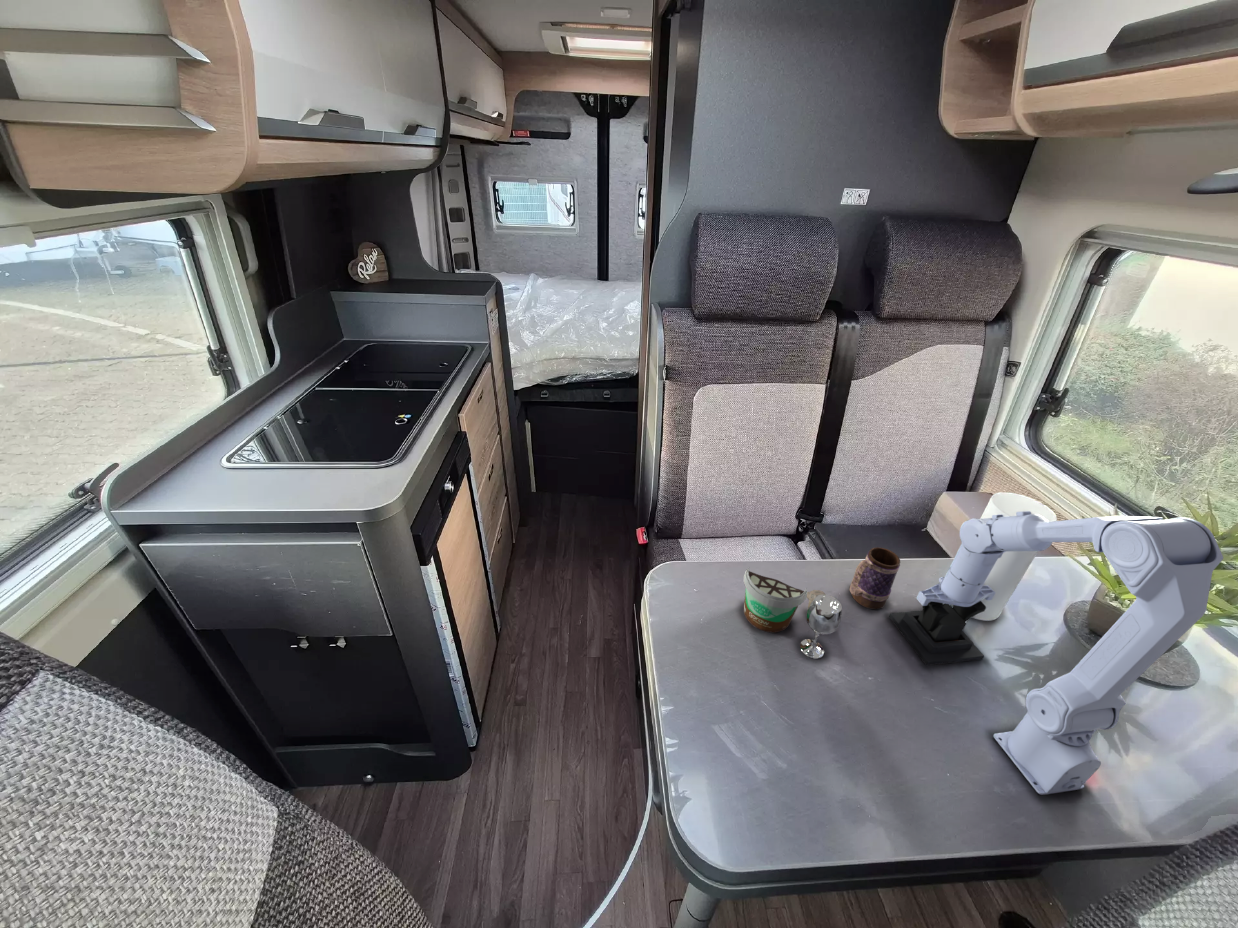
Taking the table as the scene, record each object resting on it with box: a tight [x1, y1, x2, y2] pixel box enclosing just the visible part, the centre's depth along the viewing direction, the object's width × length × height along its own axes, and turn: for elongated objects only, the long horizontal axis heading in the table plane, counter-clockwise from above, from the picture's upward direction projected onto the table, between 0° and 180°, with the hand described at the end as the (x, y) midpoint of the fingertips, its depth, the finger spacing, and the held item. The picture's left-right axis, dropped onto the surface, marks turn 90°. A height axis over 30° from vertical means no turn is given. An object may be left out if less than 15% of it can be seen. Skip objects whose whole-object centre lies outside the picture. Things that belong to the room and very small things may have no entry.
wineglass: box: [799, 594, 843, 660], centre depth 97 cm, size 6×6×12 cm
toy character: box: [806, 589, 827, 609], centre depth 106 cm, size 4×8×6 cm, turn 13°
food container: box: [743, 567, 808, 633], centre depth 102 cm, size 12×6×10 cm, turn 62°
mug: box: [849, 546, 901, 610], centre depth 109 cm, size 10×7×12 cm
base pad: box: [888, 610, 985, 666], centre depth 103 cm, size 12×12×3 cm
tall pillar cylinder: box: [951, 491, 1058, 622], centre depth 107 cm, size 11×11×25 cm
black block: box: [917, 603, 967, 642], centre depth 102 cm, size 5×5×5 cm
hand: (939, 626), depth 102 cm, fingers closed on black block, 5 cm apart
